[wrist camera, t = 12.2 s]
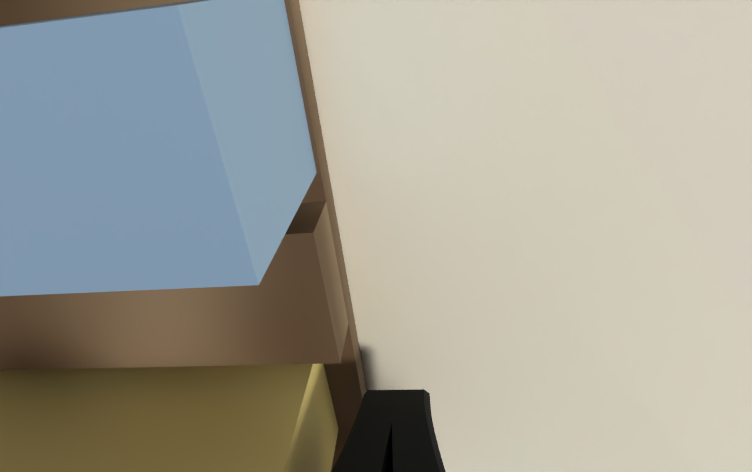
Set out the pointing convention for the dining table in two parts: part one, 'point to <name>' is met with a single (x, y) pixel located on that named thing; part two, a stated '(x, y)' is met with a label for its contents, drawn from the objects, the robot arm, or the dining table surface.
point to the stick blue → (149, 148)
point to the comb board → (210, 304)
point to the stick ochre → (167, 419)
